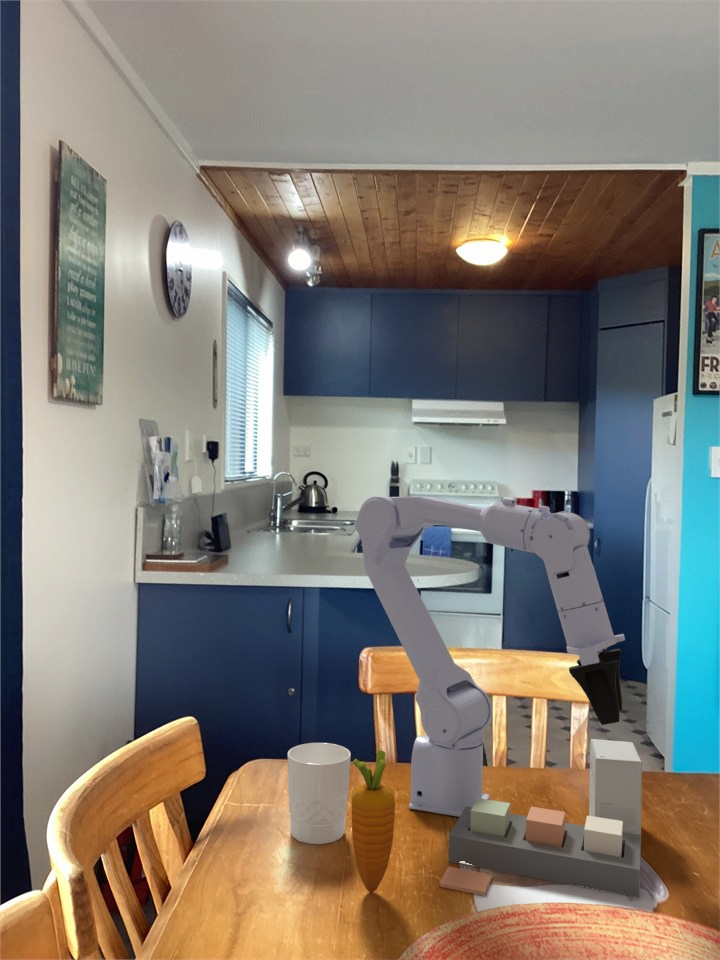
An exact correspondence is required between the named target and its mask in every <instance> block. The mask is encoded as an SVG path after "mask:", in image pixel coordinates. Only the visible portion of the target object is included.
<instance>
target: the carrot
mask: <svg viewBox="0 0 720 960" xmlns="http://www.w3.org/2000/svg"><path fill="white" fill-rule="evenodd" d="M375 761H376V762H375V768H374V772H372V768H371V767H368V766H367V764H366V763H365V762H364V761H360V760H358V759H357V758H355V759H354V760H353V761H352V764H353V765H354V766H355V767H357V768H358V770H359V772H360V774H361V775H362V778H363V780H364V781H365V783H362V784H360V785H358V786H356V787H354V788H353V789H352V792H351V830H352V831H351V833H352V835H351V836H352V837H351V840H352V846H353V847H352V848H353V853H354V859H355V865H356V868H357V870H358V874H359V877H360V880H361V881H362V884H363V886H364V887H365V890H366V891H367V892H369V894H373V893H374V892H376V891H377V889H378V887H379V886H380V884H381V883H382V880H383V878H384V876H385V874H386V871H387V868H388V867H389V862H390V857H391V856H390V855H391V853H392V846H393V840H394V832H395V812H396V811H395V810H396V800H395V793H394V790H393V789H392V788H391V787H390V786H388V785H385V784H382V783H381V782H382V777H383V773H384V770H385V768H386V766H387V763H386V752H385V751H384V750H383V749H381V748H380V749H377V751H376V759H375Z"/></svg>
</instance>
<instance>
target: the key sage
mask: <svg viewBox="0 0 720 960" xmlns="http://www.w3.org/2000/svg"><path fill="white" fill-rule="evenodd" d="M510 814H511V802H505V801H498V800H494V799H489V800H487V799H481V798H477V800H476V802H475V804H474V806H473V807H472V809H471V823H470V831H473V832H479V833H485V834H491V835H496V836H502V837H507V834H508V832H509V829H510Z"/></svg>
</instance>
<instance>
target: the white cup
mask: <svg viewBox="0 0 720 960" xmlns="http://www.w3.org/2000/svg"><path fill="white" fill-rule="evenodd" d="M350 766H351V751H350V750H349V749H348V748H346V747H345V746H342V745H339V744H335V743H330V742H308V743H304V744H303V743H302V744H299V745H296V746H294V747H291V748H290V749H289V750H288V751H287V776H288V777H287V783H288V785H287V788H288V789H287V791H288V809H289V815H290V816H289V821H290V822H289V824H290V826H289V827H290V829H289V830H290V833H291V837H292V838H294V839H295V840H297V841H298V842H300V843H305V844H309V845H326V844H330V843H334V842H336V841H338V840H340V839H342V837H343V836H344V834H345V832H346V817H347V816H346V814H347V810H348V809H347V808H348V798H349V786H350V784H349V783H350V768H351V767H350Z"/></svg>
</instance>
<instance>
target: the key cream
mask: <svg viewBox="0 0 720 960" xmlns="http://www.w3.org/2000/svg"><path fill="white" fill-rule="evenodd" d="M584 826H585V828H584V851H588V852H594V853H599V854H605V855H611V856H616V857H622V833H623V821H619V820H612V819H606V818H600V817H594V816H589V815H586V818H585V824H584Z"/></svg>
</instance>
